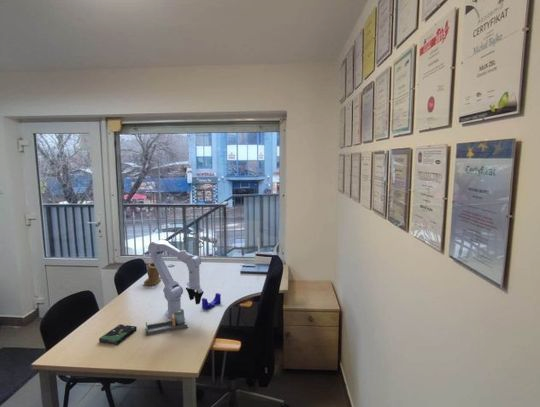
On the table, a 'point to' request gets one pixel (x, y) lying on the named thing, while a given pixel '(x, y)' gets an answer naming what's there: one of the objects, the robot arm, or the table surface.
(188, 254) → the robot arm
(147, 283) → the brown boot
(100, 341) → the disk drive
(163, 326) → the tray
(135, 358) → the table surface
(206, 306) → the cable clip
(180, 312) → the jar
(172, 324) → the bar
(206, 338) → the table surface
